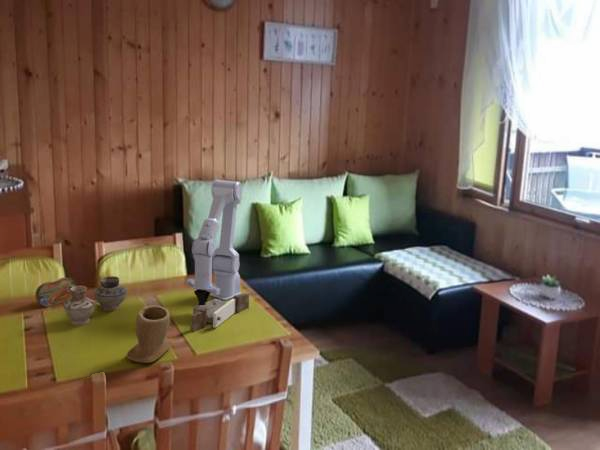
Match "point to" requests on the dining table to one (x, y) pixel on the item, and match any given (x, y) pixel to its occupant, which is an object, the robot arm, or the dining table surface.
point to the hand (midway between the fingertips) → (203, 308)
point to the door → (224, 312)
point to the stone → (209, 308)
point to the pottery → (105, 295)
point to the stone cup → (151, 334)
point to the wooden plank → (200, 317)
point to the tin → (55, 291)
